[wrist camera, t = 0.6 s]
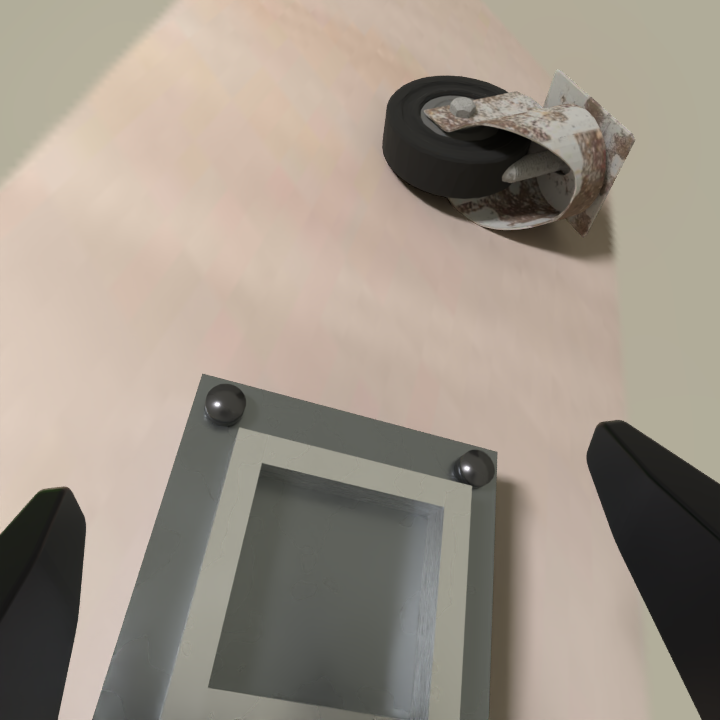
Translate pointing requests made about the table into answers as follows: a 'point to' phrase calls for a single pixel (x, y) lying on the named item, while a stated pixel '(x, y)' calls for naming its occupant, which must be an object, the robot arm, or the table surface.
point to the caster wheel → (506, 150)
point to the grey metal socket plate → (310, 571)
